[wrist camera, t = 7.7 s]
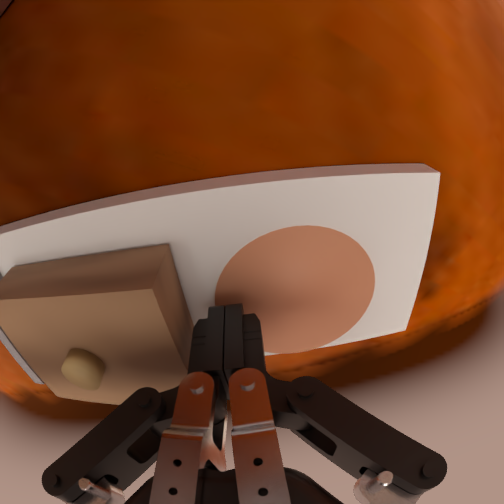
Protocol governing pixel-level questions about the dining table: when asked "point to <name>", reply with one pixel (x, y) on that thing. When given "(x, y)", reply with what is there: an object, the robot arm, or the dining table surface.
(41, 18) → the dining table surface
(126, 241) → the board
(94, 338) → the cover
